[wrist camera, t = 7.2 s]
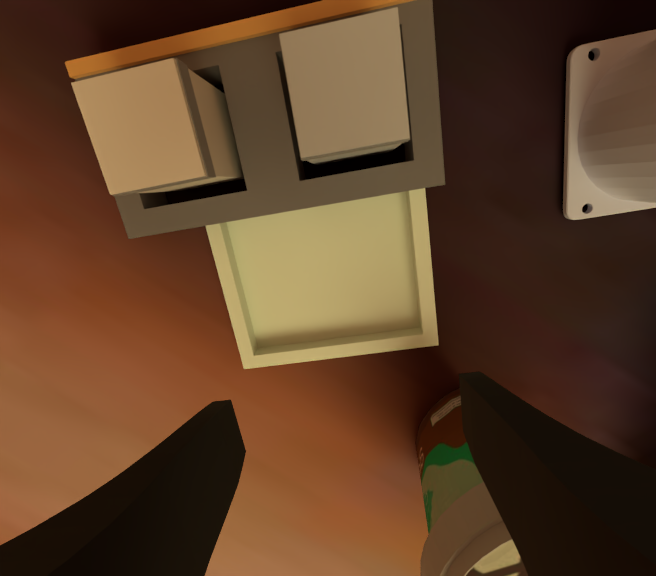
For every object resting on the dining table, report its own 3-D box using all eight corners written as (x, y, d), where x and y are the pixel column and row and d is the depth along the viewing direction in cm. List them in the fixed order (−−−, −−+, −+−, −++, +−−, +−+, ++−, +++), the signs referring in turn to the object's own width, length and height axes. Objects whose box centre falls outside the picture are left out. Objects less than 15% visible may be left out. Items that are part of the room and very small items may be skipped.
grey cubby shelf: (418, 8, 16) (432, -26, 13) (432, 184, 18) (446, 184, 16) (107, 80, 18) (64, 61, 15) (155, 232, 20) (125, 239, 17)
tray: (418, 170, 18) (423, 170, 17) (432, 334, 21) (438, 345, 20) (211, 207, 19) (201, 209, 18) (250, 357, 22) (244, 369, 21)
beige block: (382, 65, 17) (399, 4, 11) (391, 152, 18) (411, 138, 12) (301, 82, 17) (277, 32, 12) (315, 166, 18) (300, 159, 13)
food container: (367, 402, 23) (379, 562, 13) (456, 366, 21) (541, 514, 12) (438, 530, 26) (491, 738, 16) (520, 505, 24) (630, 714, 15)
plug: (157, 112, 18) (69, 81, 12) (230, 96, 18) (174, 55, 12) (180, 192, 19) (109, 196, 14) (250, 178, 19) (206, 176, 13)
